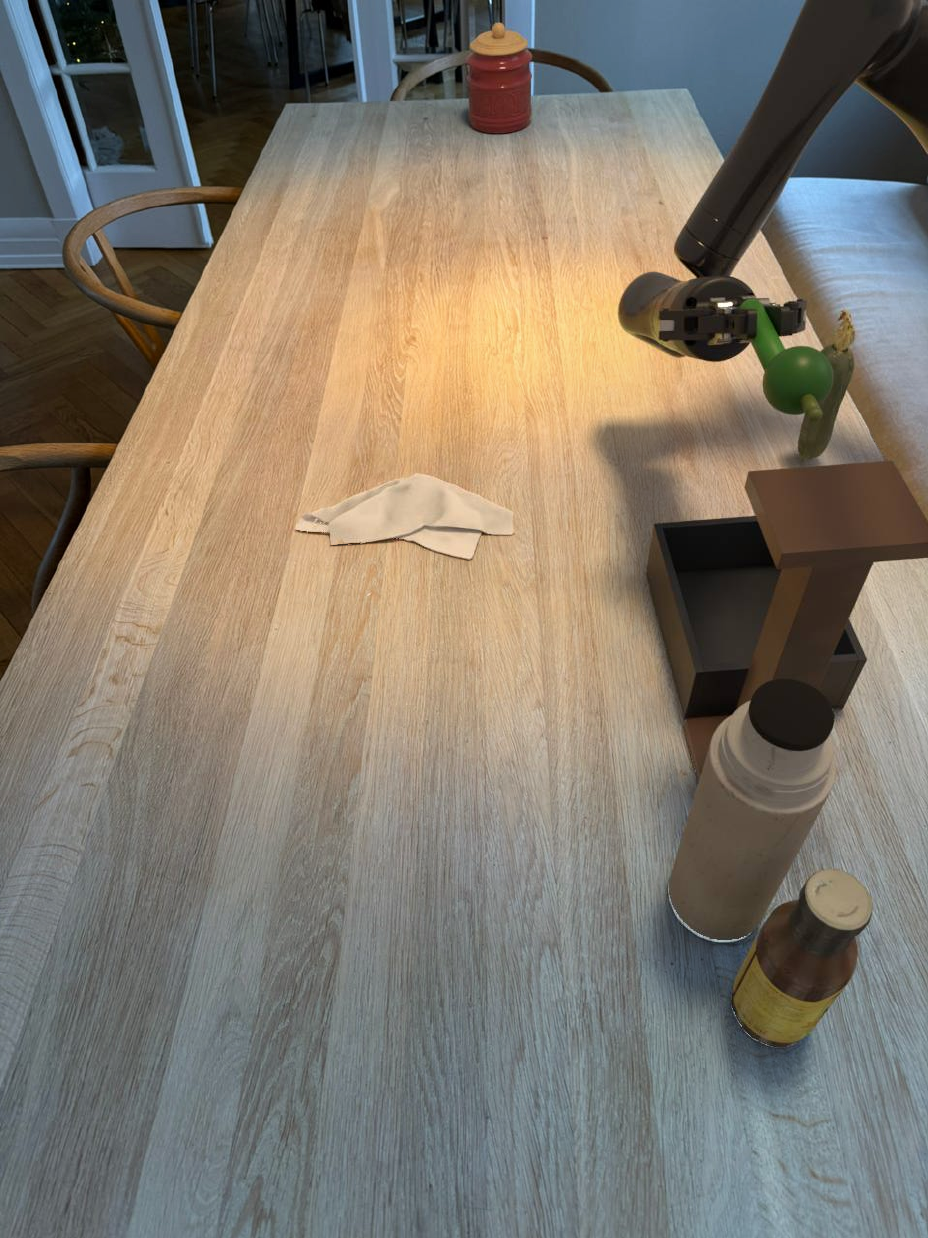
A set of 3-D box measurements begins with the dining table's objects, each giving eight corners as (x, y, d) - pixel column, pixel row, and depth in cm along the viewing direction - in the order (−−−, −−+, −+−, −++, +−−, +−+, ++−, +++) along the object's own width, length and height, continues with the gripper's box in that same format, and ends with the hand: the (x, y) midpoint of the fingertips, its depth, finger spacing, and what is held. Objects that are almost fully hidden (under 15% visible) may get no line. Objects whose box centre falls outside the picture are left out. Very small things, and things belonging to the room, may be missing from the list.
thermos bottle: (700, 835, 78) (766, 635, 56) (782, 891, 74) (886, 700, 53) (648, 901, 74) (699, 714, 53) (732, 964, 70) (823, 791, 49)
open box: (784, 563, 98) (801, 511, 92) (843, 708, 86) (867, 659, 80) (645, 574, 98) (653, 523, 92) (683, 720, 86) (695, 672, 80)
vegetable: (823, 475, 107) (873, 328, 92) (786, 472, 108) (830, 326, 93) (819, 451, 110) (867, 305, 95) (783, 449, 111) (825, 303, 96)
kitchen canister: (502, 104, 188) (501, 7, 174) (544, 120, 181) (546, 21, 168) (456, 122, 183) (450, 24, 169) (497, 140, 176) (495, 39, 162)
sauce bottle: (814, 1057, 66) (903, 965, 51) (729, 1044, 67) (790, 950, 52) (807, 970, 70) (886, 861, 55) (726, 959, 71) (782, 848, 56)
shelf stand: (786, 718, 85) (892, 459, 61) (812, 792, 80) (939, 541, 56) (683, 726, 85) (748, 470, 61) (702, 800, 80) (782, 553, 56)
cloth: (525, 488, 109) (525, 474, 107) (504, 568, 100) (504, 554, 98) (325, 466, 113) (322, 452, 111) (289, 540, 105) (285, 527, 103)
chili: (774, 313, 73) (787, 258, 70) (842, 444, 62) (862, 387, 59) (716, 318, 74) (726, 263, 70) (774, 449, 62) (790, 392, 59)
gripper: (634, 281, 83) (681, 277, 67) (779, 271, 83) (862, 264, 67) (634, 363, 86) (679, 379, 70) (775, 353, 86) (853, 366, 70)
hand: (769, 322), depth 68 cm, fingers closed on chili
